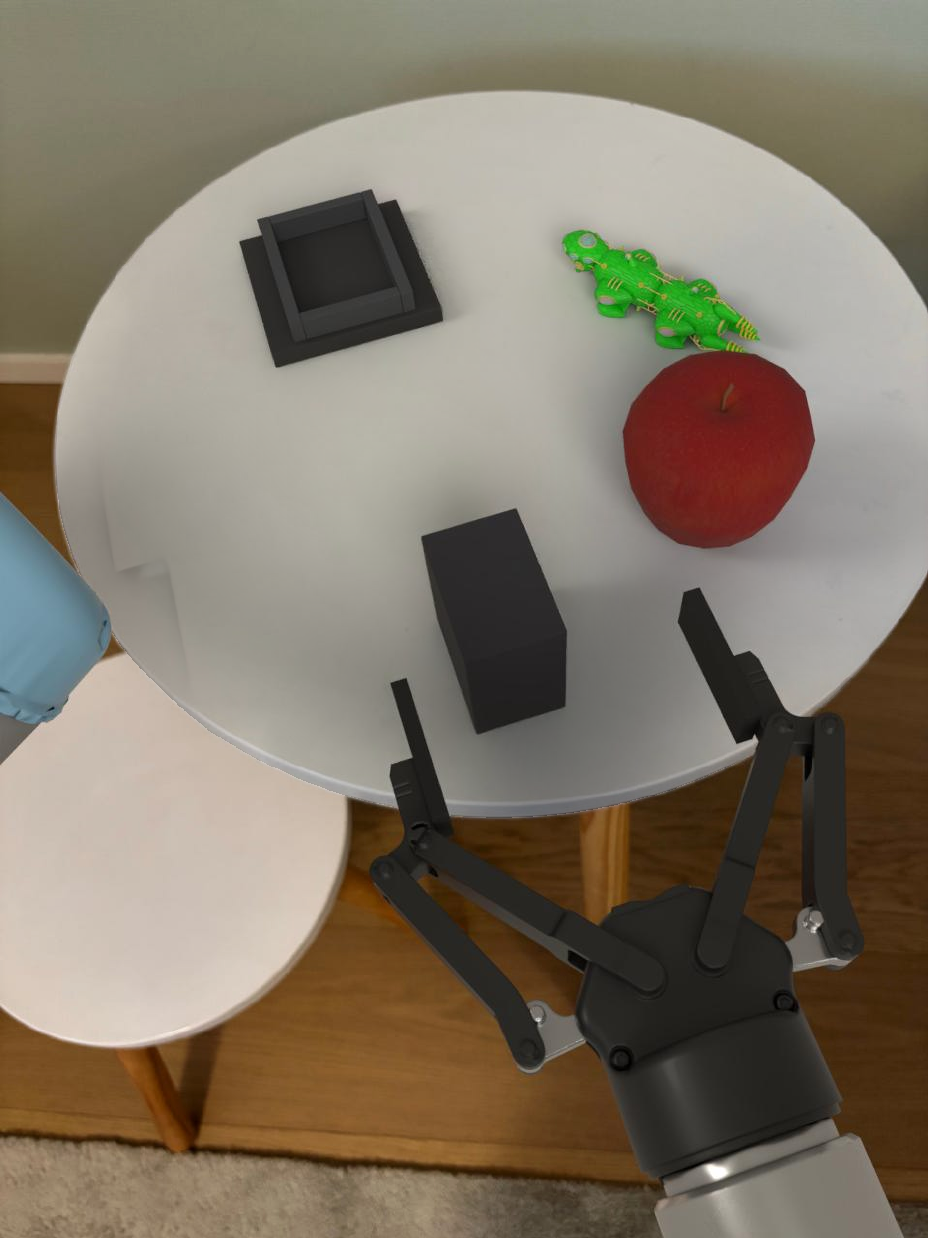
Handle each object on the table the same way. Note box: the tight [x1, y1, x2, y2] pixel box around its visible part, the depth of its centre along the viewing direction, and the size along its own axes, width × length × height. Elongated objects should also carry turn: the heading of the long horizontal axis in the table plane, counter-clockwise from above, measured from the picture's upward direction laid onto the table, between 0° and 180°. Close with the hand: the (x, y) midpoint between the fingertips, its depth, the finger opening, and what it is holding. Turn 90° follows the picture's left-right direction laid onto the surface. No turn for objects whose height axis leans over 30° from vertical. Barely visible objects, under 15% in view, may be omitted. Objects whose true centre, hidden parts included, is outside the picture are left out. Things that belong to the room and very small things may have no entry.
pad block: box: [420, 507, 568, 735], centre depth 64 cm, size 6×9×10 cm, turn 17°
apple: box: [621, 350, 816, 549], centre depth 67 cm, size 12×12×13 cm
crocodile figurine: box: [560, 229, 761, 353], centre depth 81 cm, size 7×18×4 cm, turn 49°
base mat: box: [239, 188, 444, 368], centre depth 85 cm, size 14×14×4 cm
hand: (546, 647), depth 47 cm, fingers open, 13 cm apart
